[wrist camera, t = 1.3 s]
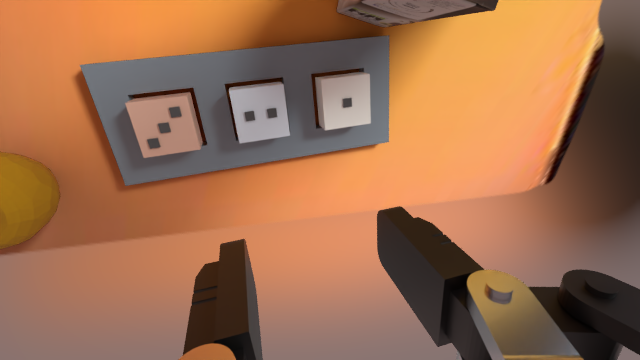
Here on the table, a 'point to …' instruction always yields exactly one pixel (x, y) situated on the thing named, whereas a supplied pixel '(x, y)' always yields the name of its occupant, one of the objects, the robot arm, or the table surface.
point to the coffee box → (410, 10)
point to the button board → (209, 86)
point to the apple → (24, 198)
